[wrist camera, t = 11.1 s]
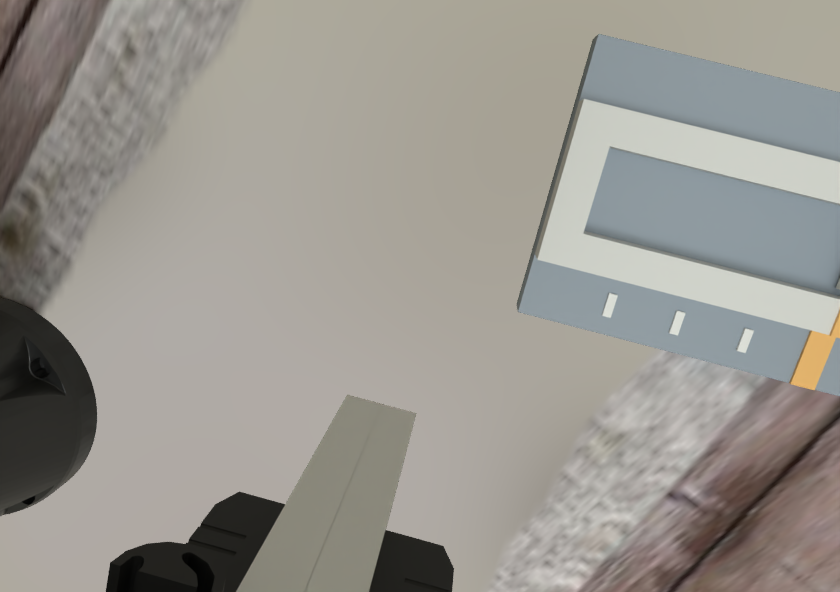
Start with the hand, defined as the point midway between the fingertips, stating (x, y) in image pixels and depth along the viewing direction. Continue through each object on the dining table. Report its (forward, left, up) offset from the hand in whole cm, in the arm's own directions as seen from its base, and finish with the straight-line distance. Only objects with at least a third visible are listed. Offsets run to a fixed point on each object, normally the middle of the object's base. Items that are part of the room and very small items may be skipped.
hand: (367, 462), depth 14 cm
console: (+6, -17, -28) cm, 34 cm away
